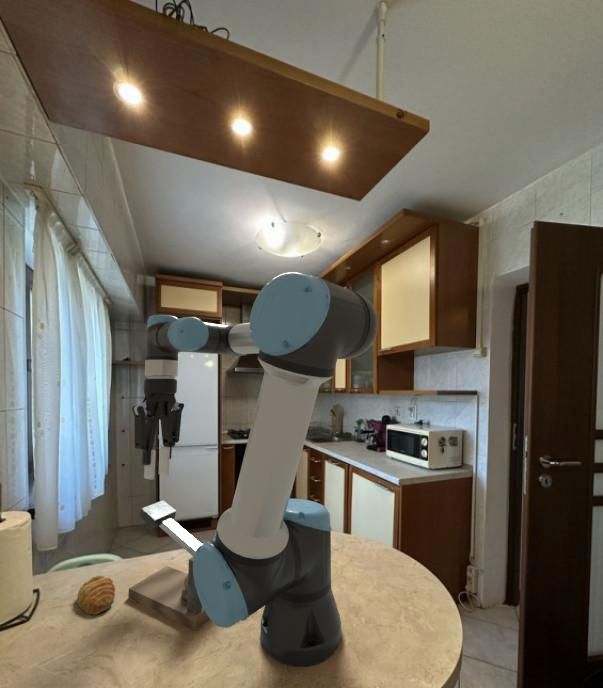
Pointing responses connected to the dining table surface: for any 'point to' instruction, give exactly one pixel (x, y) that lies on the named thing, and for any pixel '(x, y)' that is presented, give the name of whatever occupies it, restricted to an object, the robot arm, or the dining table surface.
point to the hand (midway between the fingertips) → (156, 476)
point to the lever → (169, 524)
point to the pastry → (96, 595)
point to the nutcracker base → (171, 596)
